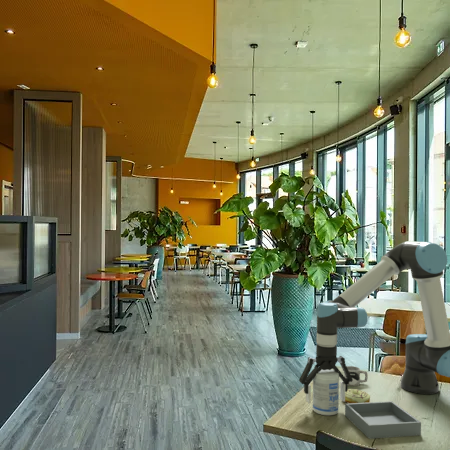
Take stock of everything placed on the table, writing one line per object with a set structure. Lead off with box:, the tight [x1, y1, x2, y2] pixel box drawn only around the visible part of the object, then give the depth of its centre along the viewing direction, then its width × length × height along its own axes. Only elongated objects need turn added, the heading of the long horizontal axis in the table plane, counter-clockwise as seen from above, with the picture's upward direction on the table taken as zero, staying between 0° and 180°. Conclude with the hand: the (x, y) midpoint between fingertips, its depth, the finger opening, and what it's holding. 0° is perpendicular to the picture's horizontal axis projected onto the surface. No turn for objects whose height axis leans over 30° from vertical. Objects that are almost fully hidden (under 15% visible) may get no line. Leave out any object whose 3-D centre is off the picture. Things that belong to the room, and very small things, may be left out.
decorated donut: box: [345, 388, 371, 404], centre depth 186 cm, size 10×11×4 cm
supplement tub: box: [312, 369, 340, 416], centre depth 176 cm, size 10×10×15 cm
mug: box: [343, 365, 369, 387], centre depth 207 cm, size 10×7×7 cm, turn 83°
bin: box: [344, 400, 422, 440], centre depth 164 cm, size 19×19×4 cm
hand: (325, 401), depth 176 cm, fingers open, 13 cm apart
